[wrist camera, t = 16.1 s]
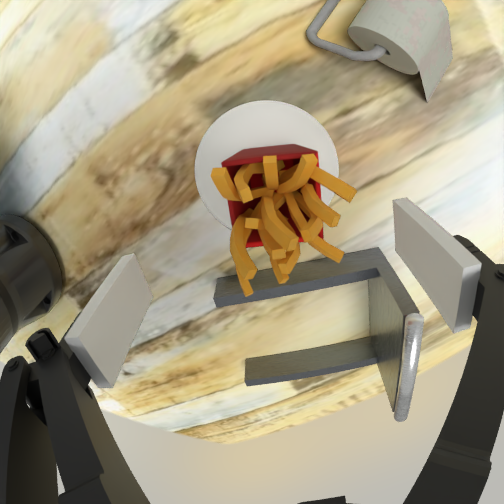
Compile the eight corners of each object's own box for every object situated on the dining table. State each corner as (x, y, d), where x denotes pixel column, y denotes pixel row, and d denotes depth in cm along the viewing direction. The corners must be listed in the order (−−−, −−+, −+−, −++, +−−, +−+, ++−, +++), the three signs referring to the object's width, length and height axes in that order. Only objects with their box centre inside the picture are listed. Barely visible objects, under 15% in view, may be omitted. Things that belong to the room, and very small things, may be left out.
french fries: (231, 140, 29) (203, 178, 16) (318, 131, 29) (366, 161, 15) (244, 226, 33) (231, 319, 20) (325, 217, 32) (364, 305, 19)
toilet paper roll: (416, 120, 28) (398, 70, 18) (335, 76, 32) (285, 24, 22) (457, 49, 24) (450, -19, 14) (376, 12, 28) (339, -51, 18)
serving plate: (217, 247, 35) (216, 250, 35) (180, 120, 29) (178, 121, 28) (345, 221, 33) (347, 224, 33) (322, 88, 27) (324, 88, 27)
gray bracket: (248, 364, 43) (242, 448, 31) (218, 278, 37) (198, 365, 25) (380, 340, 41) (409, 419, 29) (378, 247, 35) (426, 323, 22)
